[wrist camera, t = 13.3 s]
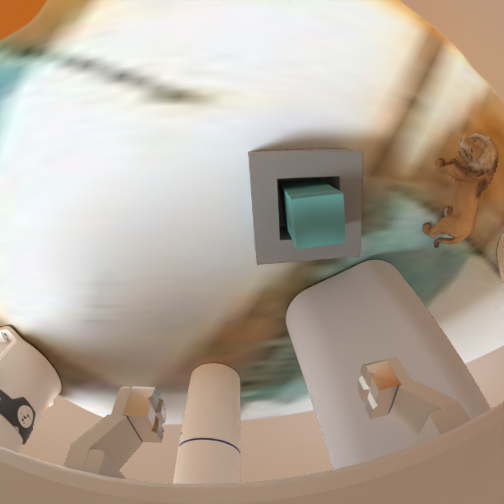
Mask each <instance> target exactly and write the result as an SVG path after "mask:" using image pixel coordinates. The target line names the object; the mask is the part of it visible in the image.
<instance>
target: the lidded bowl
mask: <svg viewBox="0 0 504 504" xmlns="http://www.w3.org/2000/svg"><path fill="white" fill-rule="evenodd" d="M497 260H498V266H499V272H500V275H501V278H502V280H503V282H504V232H503V234H502V236H501V238H500V240H499V243H498V247H497Z"/></svg>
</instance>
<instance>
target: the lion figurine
mask: <svg viewBox="0 0 504 504" xmlns="http://www.w3.org/2000/svg"><path fill="white" fill-rule="evenodd" d="M458 144H459V146H460V151H458V152H457V155H456V160H455V159H454V160H452V164H449V165H445V164H444V161H442V160H441V159H439V160H437V162H436V163H435V164H436V167H437V168H438V170H440V171H441V172H443V173H448V174H449V175H451V176H452V178H453V179H455V180H456V182H455V186H454V190H453V197H452V205H453V212H452V209H451V208H450V207H446V208H445V210H444V215H445V217H443V218H441V219H440V220H439V221H438V222H437V223H436V224H435V225H434V227H433V228H432V229H431V225H430V224H429V223H427V224H424V225H423V232H424V233H425V234H426V235H429V236H431V237H436V236H437V235H438V234H442V233H444V234H448V235H450V236H452V237H453V238H438V239H436V240H435V242H434V247H435V248H437V247H438V246H439V242H441V243H445V244H456V243H459V242H461V241H462V240H463V239H465V238H467V237H468V236H469V235H470V234H471V232H472V231H473V229H474V226H475V219H476V212H477V207H478V203H479V199H480V195H481V192H482V191H483V190H485V189H486V188H487V186H488V184H489V183H490V181H491V180H492V178H493V177H492V176H493V175H494V173H495V172H496V168H497V162H498V151H497V148H496V145H495V144H494V142H492V141H491V138H490V136H484V135H482V134H478V133H473V134H471V135H469V137H468V136H463V137H462V139H459V141H458ZM451 213H452V214H451Z"/></svg>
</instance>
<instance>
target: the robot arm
mask: <svg viewBox="0 0 504 504" xmlns="http://www.w3.org/2000/svg"><path fill="white" fill-rule="evenodd" d="M360 372H361V374H362V376H361V377H360V378H359V380H358V392H359V396H360V398H361V400H362V401H364V402H366V405H365V409H366V412H367V414H368V416H369V418H370V419H373V418H377V417H381V416H385V415H388V414H389V416H390V417H391V418H393V419H394V420H395V421H397V422H398V423H400V424H401V425H402V426H404V427H405V428H407V429H408V430H410V431H411V432H412V433H414V434H415V435H417V436H418V437H417V439H416V441H415V443H414V444H413V446H411V447H408V448H406V449H403V450H400V451H397V452H394V453H391V454H388V455H385V456H382V457H379V458H376V459H372V460H369V461H365V462H362V463H358V464H354V465H350V466H346V467H342V468H338V469H334V470H329V471H325V472H319V473H314V474H309V475H304V476H298V477H291V478H283V479H276V480H268V481H257V482H245V483H227V484H179V483H161V482H149V481H139V480H131V479H126V477H125V476H124V475H123V474H122V473H121V472H120V471H119V470H120V468H121V467H122V466H123V465H124V464H125V463H126V462H127V460H128V459H129V458H130V457H131V455H133V453H134V452H135V451H136V450H137V449H138V448H139V447H140V445H141V444H142V442H158V443H159V442H160V443H162V438H163V432H164V430H163V427H162V424H163V423H164V422H165V419H166V408H165V404H164V402H163V400H162V399H160V398H159V396H160V392H159V390H158V388H157V387H138V386H122V387H121V388H120V389H119V392H118V395H117V398H116V401H115V404H114V407H113V410H112V413H111V415H107V416H106V417H104V418H103V419H102V420H101V421H99V422H98V423H97V424H96V425H94V426H93V427H92V428H91V429H90V430H88V431H87V432H86V433H84V434H83V435H82V436H81V437H79V438H78V439H77V440H76V441H75V442H73V443H72V444H71V446H70V449H69V452H68V455H67V458H66V461H65V463H64V466H59V465H56V464H52V463H48V462H45V461H42V460H39V459H36V458H32V457H29V456H26V455H24V454H21V453H18V452H19V450H20V448H21V446H22V444H25V443H26V441H27V440H28V438H29V437H30V434H31V432H32V430H33V426H35V425H36V423H37V422H38V421H39V419H40V418H41V417H42V415H43V414H44V412H45V411H46V409H47V408H48V407H49V406H52V405H53V404H54V402H55V398H56V397H57V396H58V395H59V394H60V392H61V388H62V387H61V381H60V379H59V376H58V374H57V373H56V371H55V369H54V368H53V367H52V365H51V364H50V363H49V361H48V360H47V359H46V358H45V357H44V356H43V355H42V354H41V353H40V352H39V351H38V350H37V349H35V348H34V347H33V346H31V345H30V344H29V343H27V342H26V341H24V340H23V339H22V338H21V337H20V336H19V335H18V334H17V333H16V332H15V331H14V329H12V328H11V327H10V326H4V327H0V504H504V402H502V403H500V404H499V405H497V406H495V407H494V408H492V409H490V410H488V411H487V412H485V413H483V414H481V415H479V416H478V417H476V418H474V419H472V420H471V418H470V417H469V415H468V414H467V412H466V411H465V409H464V408H463V407H462V405H461V404H460V402H459V401H458V400H456V399H454V398H452V397H449V396H447V395H445V394H443V393H441V392H439V391H437V390H434V389H432V388H430V387H428V386H426V385H424V384H422V383H420V382H418V381H414V382H413V380H412V379H411V377H410V376H409V374H408V373H407V371H406V370H405V368H404V367H403V365H402V364H401V362H400V361H399V359H398V358H397V357H392V358H388V359H385V360H380V361H376V362H372V363H368V364H364V365H362V367H361V371H360Z"/></svg>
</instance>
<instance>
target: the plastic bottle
mask: <svg viewBox="0 0 504 504" xmlns="http://www.w3.org/2000/svg"><path fill="white" fill-rule="evenodd" d="M286 326H287V329H288V332H289V335H290V338H291V341H292V344H293V347H294V350H295V353H296V356H297V359H298V362H299V365H300V368H301V371H302V374H303V377H304V380H305V383H306V386H307V389H308V392H309V395H310V398H311V401H312V404H313V407H314V410H315V413H316V416H317V419H318V422H319V425H320V428H321V432H322V435H323V437H324V440H325V444H326V447H327V450H328V453H329V456H330V459H331V462H332V465H333V469H338V468H342V467H346V466H350V465H354V464H358V463H362V462H365V461H369V460H372V459H376V458H379V457H382V456H385V455H388V454H391V453H394V452H397V451H400V450H403V449H406V448H408V447H411V446H413V444H414V443H415V441H416V439H417V437H418V436H417V435H415V434H414V433H412V432H411V431H410V430H408V429H407V428H405V427H404V426H402V425H401V424H400V423H398V422H397V421H395V420H394V419H393V418H391V417H390V416H389V414H388V415H385V416H381V417H377V418H373V419H370V418H369V416H368V414H367V412H366V409H365V405H366V402H364V401H362V400H361V398H360V396H359V392H358V380H359V378H360V377H361V376H362V374H361V372H360V371H361V367H362V365H364V364H368V363H372V362H376V361H380V360H385V359H388V358H392V357H397V358H398V359H399V361H400V362H401V364H402V365H403V367H404V368H405V370H406V371H407V373H408V374H409V376H410V377H411V379H412V380H413V382H414V381H418V382H420V383H422V384H424V385H426V386H428V387H430V388H432V389H434V390H437V391H439V392H441V393H443V394H445V395H447V396H449V397H452V398H454V399H456V400H458V401H459V402H460V404H461V405H462V407H463V408H464V409H465V411H466V412H467V414H468V415H469V417H470V418H471V420H472V419H474V418H476V417H478V416H479V415H481V414H483V413H485V412H487V411H488V410H490V409H491V408H490V406H489V404H488V403H487V401H486V399H485V397H484V395H483V394H482V392H481V391H480V389H479V387H478V385H477V384H476V382H475V380H474V379H473V377H472V375H471V373H470V372H469V370H468V369H467V367H466V366H465V364H464V362H463V361H462V359H461V358H460V356H459V355H458V353H457V351H456V350H455V348H454V347H453V345H452V344H451V342H450V341H449V339H448V338H447V336H446V335H445V334H444V332H443V331H442V329H441V328H440V326H439V325H438V323H437V322H436V321H435V319H434V318H433V316H432V315H431V314H430V312H429V311H428V310H427V308H426V307H425V305H424V304H423V303H422V301H421V300H420V299H419V297H418V296H417V295H416V293H415V292H414V291H413V289H412V288H411V287H410V285H409V284H408V283H407V282H406V280H405V279H404V278H403V276H402V275H401V274H400V273H399V271H398V270H397V269H396V268H395V267H394V266H393V265H392V264H390V263H388V262H386V261H382V260H368V261H365V262H362V263H360V264H358V265H356V266H354V267H352V268H350V269H347V270H345V271H343V272H341V273H339V274H337V275H335V276H333V277H331V278H329V279H326V280H324V281H322V282H320V283H318V284H316V285H313V286H311V287H309V288H307V289H305V290H303V291H302V292H300V293H299V294H298V295H297V296H296V297H295V298H294V299H293V301H292V302H291V303H290V305H289V307H288V310H287V314H286Z"/></svg>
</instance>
